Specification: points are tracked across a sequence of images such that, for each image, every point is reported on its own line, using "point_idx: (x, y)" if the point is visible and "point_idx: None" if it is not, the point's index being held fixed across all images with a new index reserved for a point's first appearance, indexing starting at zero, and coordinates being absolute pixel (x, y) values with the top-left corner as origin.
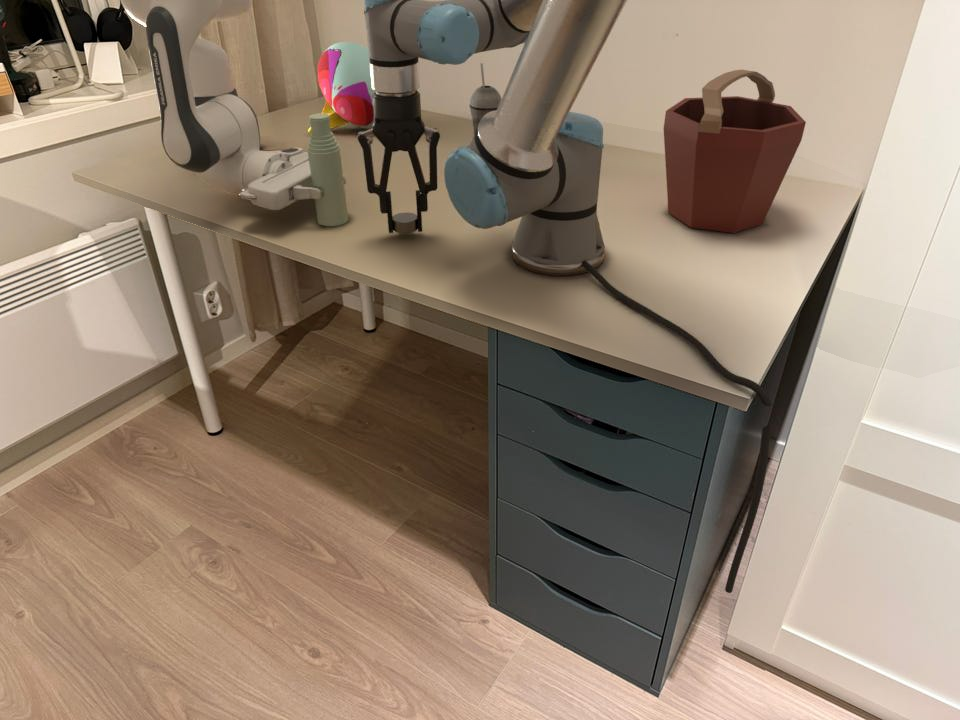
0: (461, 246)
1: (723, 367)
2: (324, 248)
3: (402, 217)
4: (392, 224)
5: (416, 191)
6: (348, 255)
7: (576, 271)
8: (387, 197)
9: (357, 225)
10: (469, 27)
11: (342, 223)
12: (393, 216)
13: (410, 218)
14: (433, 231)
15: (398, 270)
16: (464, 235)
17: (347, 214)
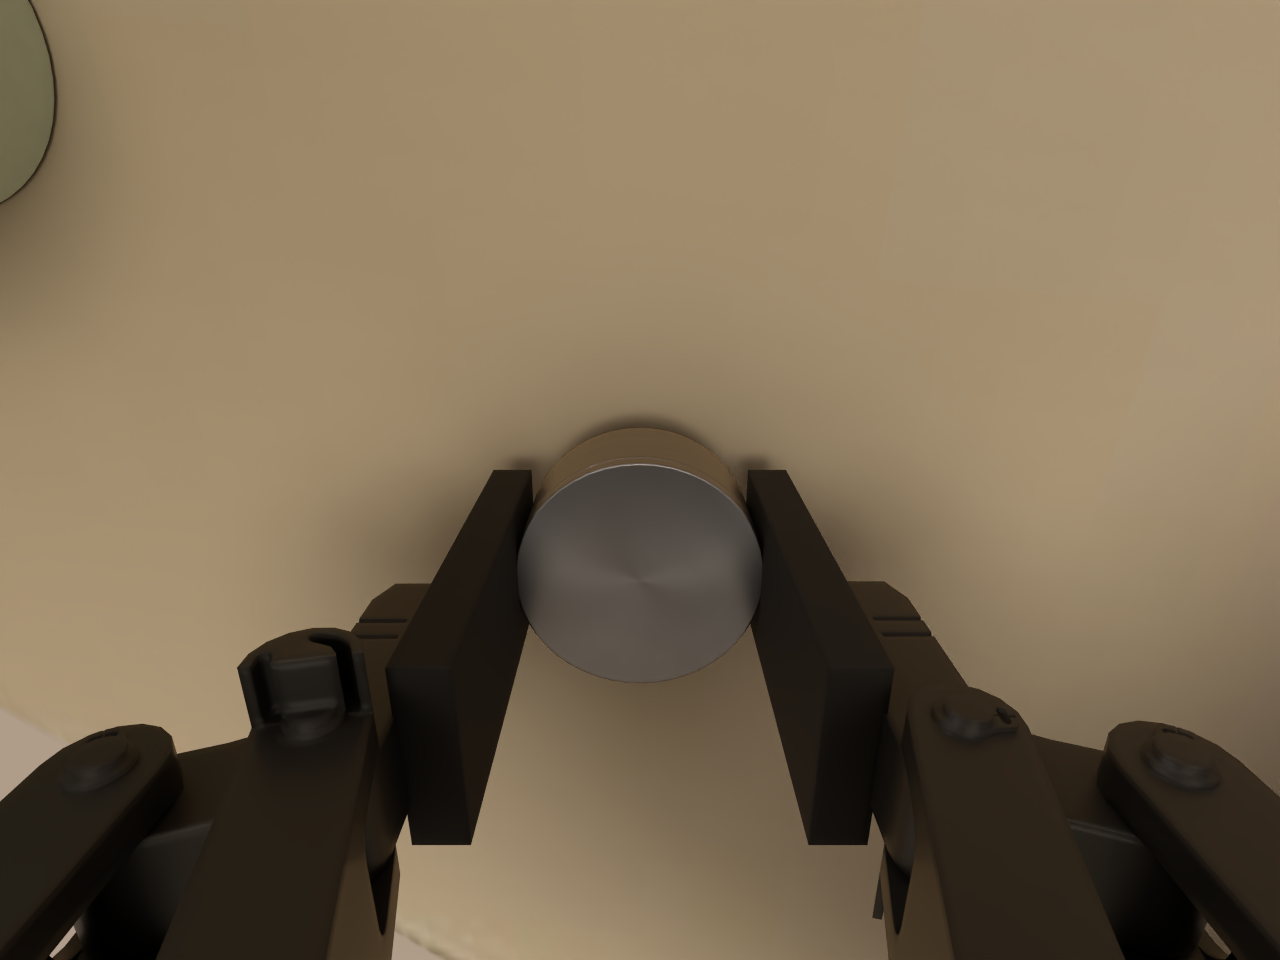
0: (1015, 692)
1: None
2: (61, 625)
3: (617, 582)
4: (526, 628)
5: (835, 708)
6: None
7: None
8: (433, 840)
9: (188, 217)
10: None
11: (27, 173)
12: (527, 550)
13: (694, 606)
14: (867, 429)
15: (592, 915)
16: (1091, 529)
17: (1, 48)
